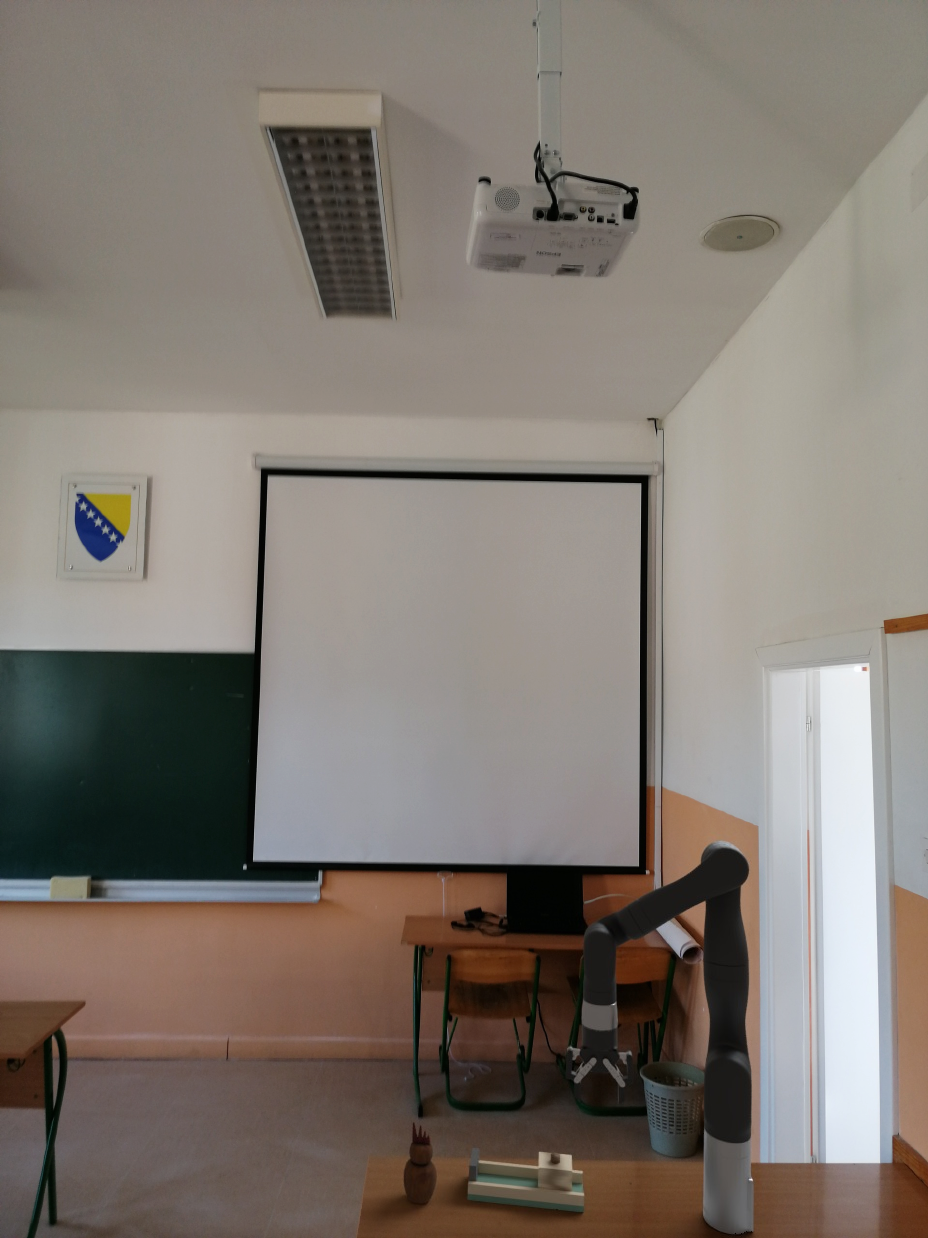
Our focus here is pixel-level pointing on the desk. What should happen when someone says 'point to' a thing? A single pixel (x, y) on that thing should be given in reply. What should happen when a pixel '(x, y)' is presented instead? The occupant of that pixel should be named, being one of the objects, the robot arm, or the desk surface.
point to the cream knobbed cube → (555, 1171)
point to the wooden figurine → (420, 1169)
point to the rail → (519, 1186)
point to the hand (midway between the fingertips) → (599, 1101)
